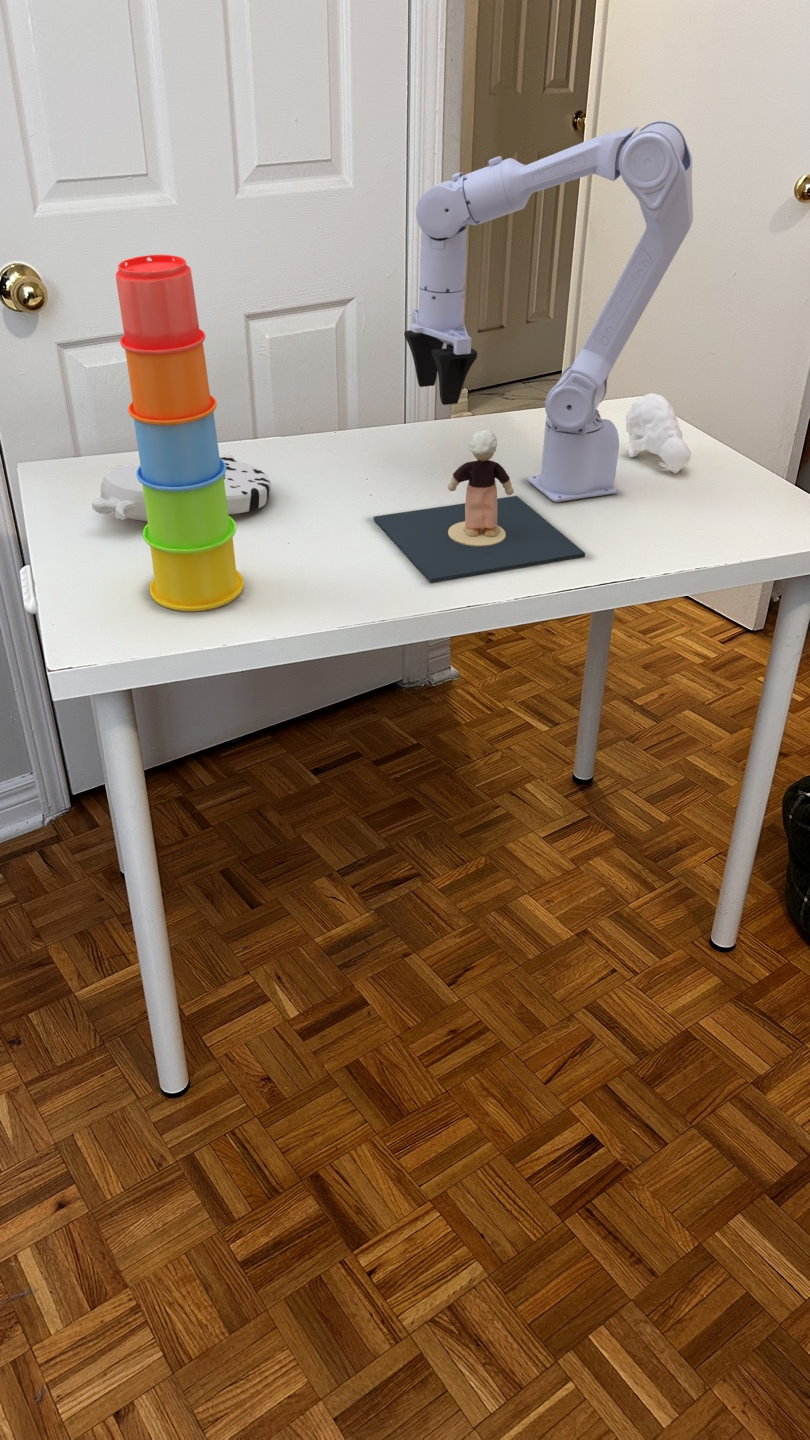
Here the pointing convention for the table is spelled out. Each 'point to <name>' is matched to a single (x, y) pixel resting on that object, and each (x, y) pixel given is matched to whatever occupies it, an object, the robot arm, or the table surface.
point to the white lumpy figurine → (656, 431)
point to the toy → (127, 496)
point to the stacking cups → (176, 437)
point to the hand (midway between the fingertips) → (437, 394)
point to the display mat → (476, 540)
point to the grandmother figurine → (481, 485)
